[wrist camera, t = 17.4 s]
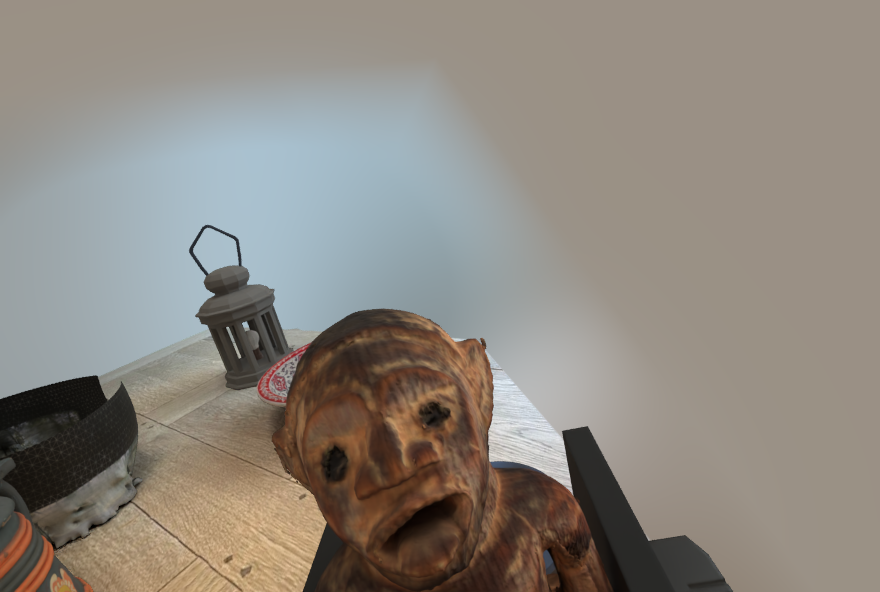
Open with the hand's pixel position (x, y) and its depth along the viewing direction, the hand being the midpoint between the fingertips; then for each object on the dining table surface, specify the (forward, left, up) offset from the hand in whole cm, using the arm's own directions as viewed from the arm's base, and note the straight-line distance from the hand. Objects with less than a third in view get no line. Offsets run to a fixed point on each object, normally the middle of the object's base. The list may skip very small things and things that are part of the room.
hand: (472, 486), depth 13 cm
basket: (+79, -7, -25) cm, 83 cm away
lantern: (+79, -48, -25) cm, 96 cm away
